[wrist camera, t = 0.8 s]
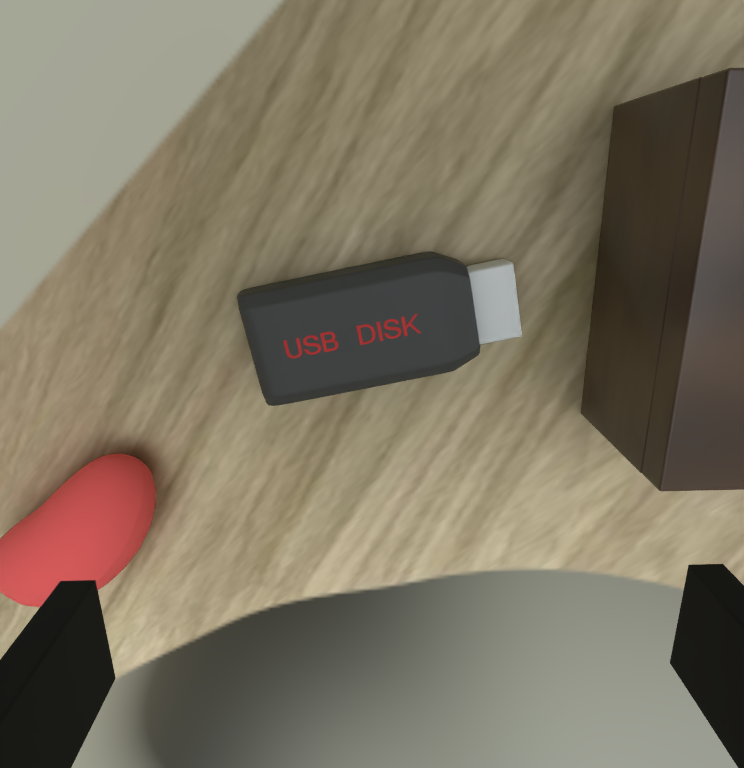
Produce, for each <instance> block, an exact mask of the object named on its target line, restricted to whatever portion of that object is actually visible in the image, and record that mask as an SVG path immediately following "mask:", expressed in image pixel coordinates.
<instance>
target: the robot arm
mask: <svg viewBox="0 0 744 768" xmlns="http://www.w3.org/2000/svg"><path fill="white" fill-rule="evenodd" d="M670 664H671V665H672V667H673V668H674V670H675V671H676V673H677V674H678V676H679V677H680V679H681V680H682V682H683V683H684V685H685V686H686V688H687V689H688V691H689V693H690V694H691V696H692V697H693V699H694V700H695V702H696V703H697V705H698V707H699V708H700V710H701V711H702V713H703V714H704V716H705V717H706V719H707V720H708V722H709V723H710V725H711V726H712V728H713V730H714V731H715V733H716V734H717V736H718V737H719V739H720V740H721V742H722V743H723V745H724V746H725V748H726V749H727V751H728V753H729V754H730V756H731V757H732V759H733V760H734V762H735V763H736V765H737V766H738V768H744V585H743V584H742V583H741V582H740V581H739V580H738V579H737V578H736V577H735V576H734V575H733V574H732V573H731V572H730V571H729V570H728V569H727V568H726V567H725V566H724V565H723V564H705V565H689V566H688V571H687V577H686V582H685V587H684V592H683V597H682V603H681V608H680V613H679V619H678V623H677V629H676V635H675V640H674V645H673V650H672V655H671V660H670ZM114 680H115V674H114V669H113V664H112V659H111V654H110V649H109V644H108V639H107V634H106V629H105V625H104V620H103V615H102V610H101V605H100V600H99V595H98V590H97V585H96V580H79V581H60V582H59V583H58V585H57V586H56V587H55V589H54V590H53V591H52V593H51V594H50V595H49V597H48V598H47V599H46V600H45V602H44V603H43V604H42V606H41V607H40V608H39V610H38V611H37V612H36V614H35V615H34V616H33V618H32V619H31V620H30V622H29V623H28V624H27V625H26V627H25V628H24V629H23V631H22V632H21V633H20V635H19V636H18V637H17V639H16V640H15V641H14V643H13V644H12V645H11V647H10V648H9V649H8V650H7V652H6V653H5V654H4V656H3V657H2V658H1V660H0V768H71V767H72V764H73V763H74V761H75V759H76V756H77V754H78V752H79V750H80V748H81V746H82V744H83V742H84V740H85V738H86V736H87V734H88V732H89V730H90V728H91V726H92V724H93V722H94V720H95V718H96V716H97V714H98V712H99V710H100V708H101V706H102V704H103V702H104V700H105V698H106V696H107V694H108V692H109V690H110V688H111V686H112V684H113V682H114Z"/></svg>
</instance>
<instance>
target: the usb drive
mask: <svg viewBox="0 0 744 768" xmlns="http://www.w3.org/2000/svg"><path fill="white" fill-rule="evenodd" d="M237 298H238V304H239V310H240V314H241V317H242V321H243V325H244V328H245V332H246V335H247V339H248V343H249V346H250V350H251V353H252V357H253V361H254V364H255V368H256V371H257V375H258V379H259V382H260V386H261V390H262V393H263V396H264V398H265V400H266V403H267V404H268V405H271V406H275V405H283V404H289V403H294V402H299V401H304V400H309V399H314V398H319V397H325V396H330V395H335V394H340V393H345V392H350V391H355V390H360V389H365V388H370V387H375V386H380V385H385V384H391V383H396V382H401V381H406V380H411V379H416V378H421V377H426V376H431V375H436V374H441V373H446V372H451V371H454V370H456V369H457V368H459V367H461V366H462V365H464V364H465V363H467V362H468V361H470V360H471V359H473V358H474V357H476V356H477V355H479V353H480V345H481V344H486V343H491V342H496V341H501V340H506V339H511V338H516V337H521V336H522V332H521V324H520V315H519V307H518V299H517V291H516V282H515V274H514V266H513V263H512V262H510V261H508V260H506V259H504V258H503V259H498V260H493V261H488V262H484V263H479V264H474V265H469V266H465V265H464V264H463V263H461V262H460V261H458V260H457V259H454V258H451V257H447V256H444V255H440V254H437V253H433V252H424V253H418V254H413V255H408V256H404V257H399V258H394V259H389V260H384V261H379V262H374V263H370V264H365V265H360V266H355V267H350V268H345V269H340V270H336V271H331V272H326V273H321V274H316V275H311V276H306V277H302V278H297V279H292V280H287V281H282V282H277V283H273V284H268V285H263V286H258V287H253V288H249V289H245V290H242V291H241V292H240V293H239V294H238V296H237Z"/></svg>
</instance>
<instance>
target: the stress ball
mask: <svg viewBox="0 0 744 768" xmlns="http://www.w3.org/2000/svg"><path fill="white" fill-rule="evenodd" d="M154 508H155V484H154V481H153V477H152V474H151V471H150V470H149V468H148V467H147V466H146V465H145V464H144V462H142V461H140V460H139V459H137V458H135V457H133V456H130V455H126V454H110V455H105V456H102V457H100V458H98V459H95V460H93V461H92V462H90V463H89V464H87V465H86V466H84V467H83V468H81V469H80V470H79V471H78V472H77V473H75V474H74V475H73V476H72V477H70V478H69V479H68V480H67V481H66V482H65V483H64V484H63V485H62V486H61V487H59V488H58V489H57V490H56V491H55V492H54V493H53V494H52V495H51V496H50V497H49V499H48V500H47V501H46V502H45V503H44V504H43V505H42V506H41V507H39V508H38V509H37V510H36V511H34V512H33V513H31V514H30V515H28V516H27V517H25V518H24V519H23V520H21V521H20V522H19V523H18V524H16V525H15V526H14V527H13V528H11V529H10V530H9V531H8V532H7V533H6V534H5V535H4V536H3V537H2V538H1V539H0V592H1V593H3V594H4V595H5V596H7V597H9V598H10V599H12V600H14V601H16V602H18V603H20V604H22V605H26V606H36V607H41V606H42V604H43V603H44V602H45V600H46V599H47V598H48V597H49V595H50V594H51V593H52V591H53V590H54V589H55V587H56V586H57V585H58V583H59V582H60V581H79V580H96V585H97V590H98V589H100V588H101V587H103V586H104V585H106V584H107V583H108V582H110V581H111V580H112V579H113V578H114V577H116V576H117V575H118V574H119V573H120V572H121V571H122V570H123V569H124V568H125V567H126V566H127V564H128V563H129V562H130V560H131V559H132V558H133V556H134V555H135V554H136V553H137V551H138V550H139V549H140V547H141V545H142V543H143V541H144V539H145V536H146V534H147V532H148V530H149V528H150V526H151V522H152V518H153V513H154Z"/></svg>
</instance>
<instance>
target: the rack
mask: <svg viewBox="0 0 744 768" xmlns="http://www.w3.org/2000/svg"><path fill="white" fill-rule="evenodd" d="M581 414H582V415H583V416H584V417H585V418H586V419H587V420H588V421H589V422H590V423H591V424H592V425H593V426H594V427H595V428H596V429H597V430H598V431H599V432H600V433H601V434H602V435H603V436H604V437H605V438H606V439H607V440H608V441H609V442H610V443H611V444H612V445H613V446H614V447H615V448H616V449H617V450H618V451H619V452H620V453H621V454H622V455H623V456H624V457H625V458H626V459H627V460H628V461H629V462H630V463H631V464H632V465H633V466H634V467H635V468H636V469H637V470H638V471H639V472H641V473H643V475H644V476H645V477H646V478H647V479H648V480H649V481H650V482H651V483H652V484H653V485H654V486H655V487H656V488H657V489H658V490H660V491H691V490H735V489H744V68H728V69H725V70H722V71H719V72H716V73H713V74H710V75H707V76H704V77H700V78H697V79H694V80H691V81H688V82H685V83H682V84H679V85H676V86H673V87H670V88H667V89H664V90H661V91H658V92H655V93H652V94H649V95H646V96H643V97H640V98H637V99H634V100H631V101H628V102H625V103H622V104H619V105H616V106H615V107H614V115H613V124H612V134H611V143H610V152H609V161H608V170H607V179H606V189H605V198H604V207H603V216H602V225H601V234H600V244H599V253H598V262H597V271H596V280H595V289H594V298H593V308H592V317H591V326H590V335H589V344H588V353H587V363H586V372H585V381H584V390H583V399H582V408H581Z"/></svg>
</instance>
